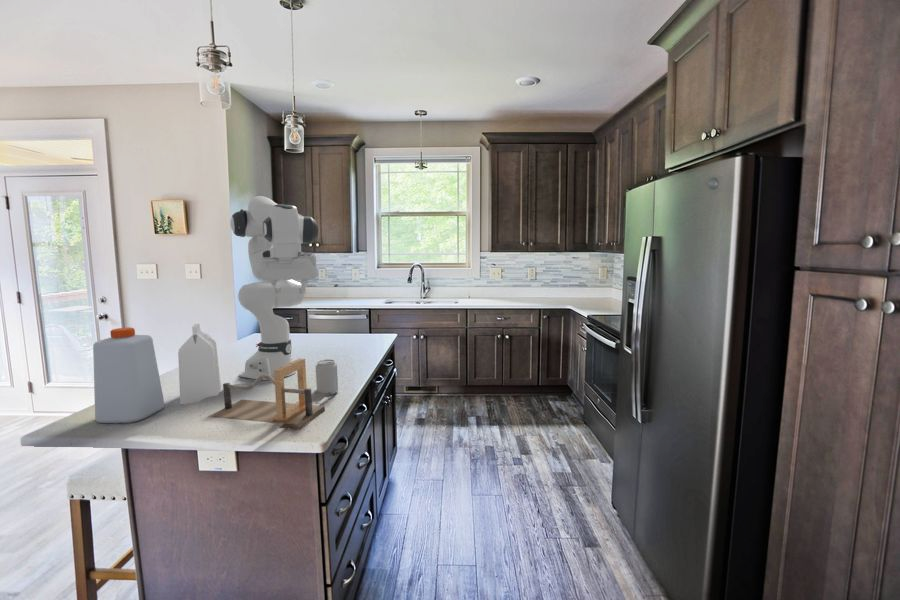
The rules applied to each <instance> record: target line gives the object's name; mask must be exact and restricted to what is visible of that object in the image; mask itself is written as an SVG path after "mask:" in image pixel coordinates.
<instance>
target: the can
mask: <svg viewBox="0 0 900 600" xmlns="http://www.w3.org/2000/svg"><path fill="white" fill-rule="evenodd" d="M338 377H339V376H338V364H337V362H336V360H335V359H330V358H327V359H320V360H318V361H317V362H316V365H315V380H316V381H315V382H316V392H318V393H322V394H325V393H326V394H327V393H328V394H327V395H326V397H327V396H328V397H330V396H333V395H336V393H337V392H338V391H339V381H338V380H339V378H338ZM329 395H330V396H329Z"/></svg>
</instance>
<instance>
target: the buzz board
mask: <svg viewBox="0 0 900 600" xmlns="http://www.w3.org/2000/svg"><path fill="white" fill-rule="evenodd" d="M263 378H264V379H268V381H269V382H270V383H271V384H272V385H274V386H275V380H274V379H273V378H272V377H271V376H270V375H261V376H260V377H259V378H257V379H254V381H253V382H252V383H251V384H249V385H242V384H241V385H239V384H231V383H230V382H224V383H223V384H222V388H223V389H222V390H223V402H224V408H222V409H220V410H218V411H216V412H214V413H212V414H210V415H208V416H207V418H208V417H209V418H219V419H229V420H231V419H232V420H240V421H242V420H243V421H253V422H263V423H273V424H274V423H275V424H282V425H280V426H279V427H278V429H287V428H290V429H289V430H297V429H299V430H300V429H301V428H303V427H304V426H306V425H307V424H308V423H310V422H311V421H312V420H314V419H315V418H317V417H318V416H320V415H321V414H322V413H323V412H325V411H326V409H325V407H326V406H325V405H315V404H313V398H312V397H313V396H312V395H313V394H312V393H313V392H312V388H310V387H309V388H307V389H305V390H302V389H298V388H286V387H284V389H285V393H291V394H299V393H301V394H305V411H304V412H302V413H301V414H299V415H298V416H296V417H295V418H293V419H292V420H290V421H289V422H279V421H273V418H272V417H273V416H275V415H277V411H276V401H267V400H265V401H264V400H255V399H254V400H253V399H240V400H238V401H237V402H234V403H232V391H231V389H233V390H234V389H235V390H248V391H251V390H252V389H253V388H254V387H255V386H256V385H258V384H259V383H260V382H261V381H263V380H262V379H263ZM293 404H294V403H289V402H285V405H286V408H288V407H290V406H291V405H293ZM316 416H317V417H316ZM313 418H314V419H313ZM309 421H310V422H309ZM305 424H306V425H305Z"/></svg>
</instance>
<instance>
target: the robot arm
mask: <svg viewBox="0 0 900 600" xmlns="http://www.w3.org/2000/svg"><path fill="white" fill-rule="evenodd" d="M298 211H299V210H298V208H297V207H296V206H295V205H292V204H284V203H283V204H282V203H281V204H279V203H276V202H275V201H274V200H272V199H271V198H269V197H266V196H263V195H256V196H254V197H252V198H251V199H250V200H249V202H248V206H247V210H246V209H244V210H243V208H241V209H240V210H239V211H236V212H234V213H233V214H232V215H231V218H230V228H231V230H232V232H233V234H234V235H235V236H237V237H240V238H245V237H247V238H250V239H249V241H248V246H247V249H248V250H247V251H248V259H249V262H250V263H249V264H250V268H251V272H252V274H253V276H254V277H255V279H257V280H258V281H260V282H251V283H247V284H244V285H242V286H241V287H240V289H239V291H238V294H237V297H238V298H237V299H238V301H239V304H240V305H241V306H242V308H244V309H245V310H248V311H249V312H250V313H251V314H252V315H253V316H254V317H255V318H256V320H257V322H258V326H259V330H260V338H261V339H260V340H261V341H259V343H256V344H255V347H256V348H257V347H258V349H257V351H255V353H254V354H253V355H251V356H250V357H248V358H247V359H246V361H245V363H244V370H242V371H241V372H239V373H238V377H241V378H246V379H252V380H256V379H257V378H259V377H260V376H261V375H270V376H271V377H272V378H273V379H274V370H275V369H278V368H280V367H282V366H284V365H286V364H289V363H291V362H293V355H292V340H291V338H290V324H289V321H288V320H287V319H286V318H285V317H282V316H280V315H278V314H275V313H274V310H273V309H276V308H277V309H278V308H279V309H281V308H289V307H290V308H291V307H294V306H297V305H301V304H302V303H303V302H304V299H305V298H306V288H307V286H308V284H309V281H314V280H317V278H318V275H319V273H318V267H317V257H316V255H315V254H314V253H312V252H310V251H309V252H302V244H305V245H311V244H312V243H314V242H315V241H316V240H317V238H318V237H319V225H318V222H316V220H315V219H314V218H313V217H312V216H309V215H307V216H305V215H304V216H303V215H302V214H300V213H299V212H298ZM296 372H297V371H295V372H293V373H291V374H289V375H287V376H285V377H289V376H292V375H294V374H295V373H296ZM285 377H284V378H285ZM267 380H268V379H264V378H263V379H262V380H261V381H267ZM268 381H269V380H268Z"/></svg>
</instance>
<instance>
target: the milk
mask: <svg viewBox="0 0 900 600" xmlns="http://www.w3.org/2000/svg"><path fill="white" fill-rule="evenodd" d="M191 328H192V330H191V331H192V335H191V336H190V337H189V338H188V339H187V340H186V341H184V343H183V344H182V345H181V346H180V347H179V348H178V353H177V354H178V357H177V358H178V380H179V382H178V383H179V405H181V404H182V405H188V404H187V403H189V404H196V403H198V402H200V401H203V400H205V399H207V398H210V397H216V396H217V397H218V396H219V394H220V392H221V391H222V390H223V389H222V382H221V381H222V380H221V373H220V365H219V357H218V347H217V341H215V340H214V339H213V337H212V336H210V335H209V334H208V333H206V332H203V331H201V326H200V323H195V324H193V325H192V327H191ZM221 393H222V392H221ZM195 402H196V403H195Z"/></svg>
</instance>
